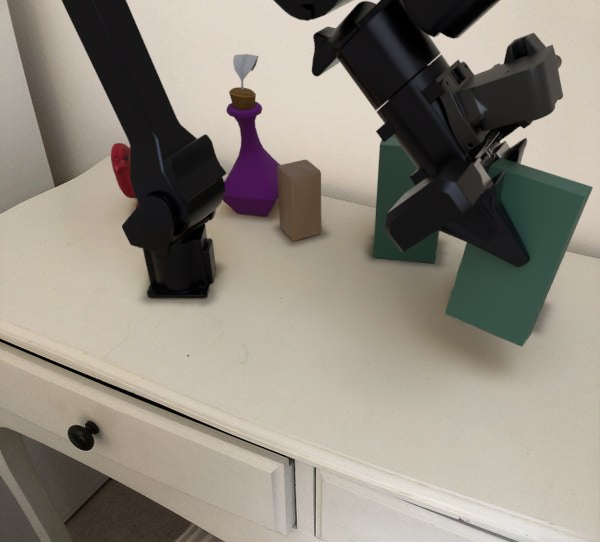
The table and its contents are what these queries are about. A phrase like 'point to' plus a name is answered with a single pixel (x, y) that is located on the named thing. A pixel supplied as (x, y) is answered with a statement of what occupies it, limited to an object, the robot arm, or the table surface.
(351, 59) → the robot arm
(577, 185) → the green book
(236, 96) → the perfume bottle
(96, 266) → the table surface
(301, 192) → the wooden block
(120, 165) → the decorative bird figurine
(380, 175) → the green book
